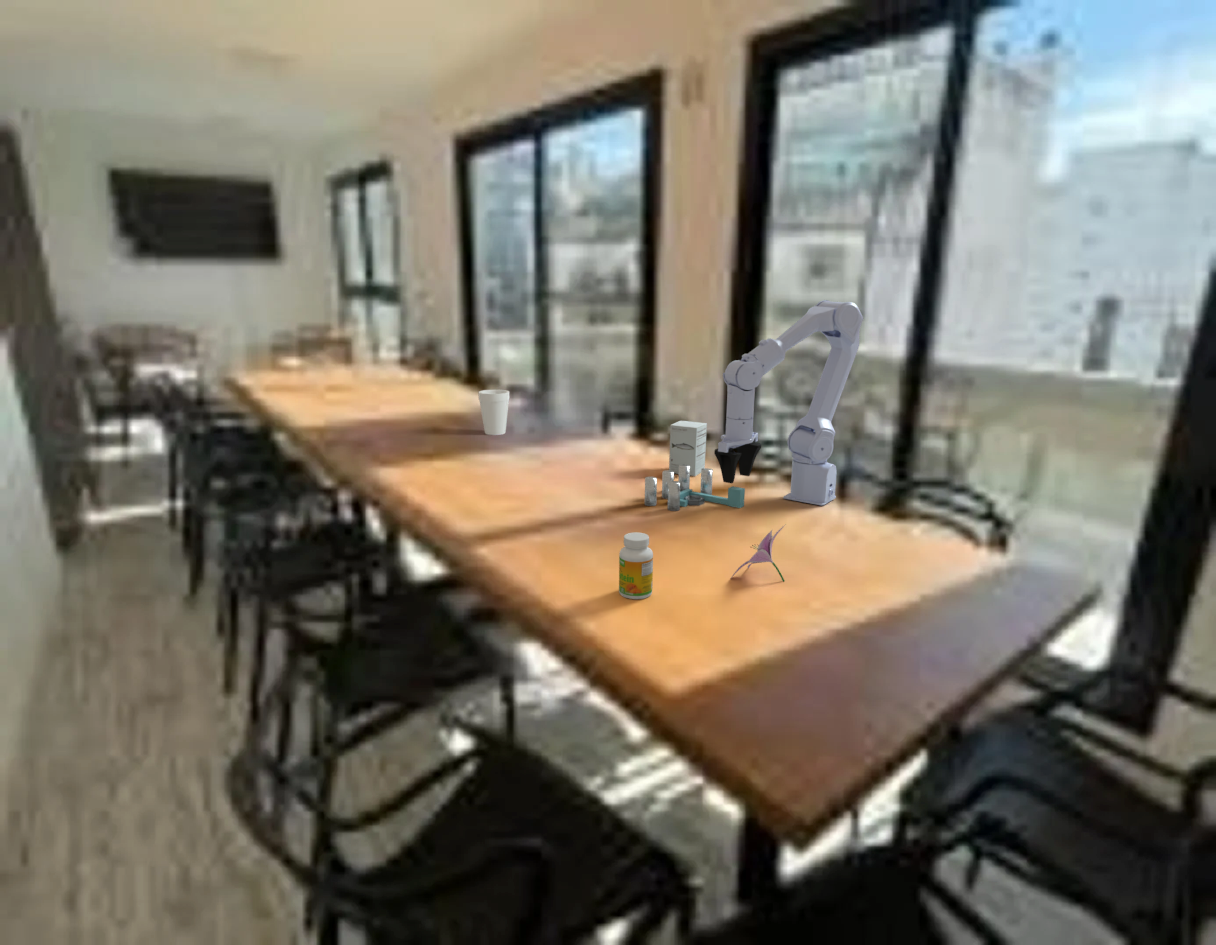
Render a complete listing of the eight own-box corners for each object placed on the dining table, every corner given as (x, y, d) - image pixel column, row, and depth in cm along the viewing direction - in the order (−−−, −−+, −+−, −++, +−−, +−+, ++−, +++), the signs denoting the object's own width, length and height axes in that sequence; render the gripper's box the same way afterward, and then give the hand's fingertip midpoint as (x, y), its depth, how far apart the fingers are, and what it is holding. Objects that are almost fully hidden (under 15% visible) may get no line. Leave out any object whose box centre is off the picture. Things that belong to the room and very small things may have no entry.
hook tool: (744, 505, 176) (744, 488, 175) (725, 515, 169) (725, 497, 168) (688, 495, 184) (689, 478, 183) (668, 503, 177) (668, 486, 176)
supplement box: (667, 473, 203) (669, 424, 200) (679, 467, 209) (680, 419, 206) (695, 477, 200) (696, 427, 197) (705, 470, 206) (707, 422, 203)
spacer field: (713, 494, 184) (714, 469, 183) (675, 511, 172) (676, 484, 170) (681, 488, 189) (682, 463, 188) (642, 504, 176) (642, 478, 175)
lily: (779, 567, 143) (755, 520, 143) (823, 563, 133) (797, 512, 132) (732, 601, 138) (707, 552, 137) (774, 599, 127) (747, 546, 127)
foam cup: (474, 434, 248) (473, 393, 244) (487, 429, 256) (486, 388, 253) (503, 436, 245) (501, 394, 242) (515, 431, 254) (514, 390, 250)
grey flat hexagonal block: (707, 503, 179) (707, 497, 178) (696, 508, 175) (696, 501, 175) (691, 500, 181) (691, 494, 181) (681, 504, 178) (681, 498, 177)
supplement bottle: (611, 593, 129) (612, 536, 127) (634, 584, 133) (635, 528, 130) (636, 603, 125) (637, 544, 123) (659, 593, 129) (660, 536, 127)
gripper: (739, 410, 179) (736, 469, 182) (706, 420, 168) (703, 482, 171) (767, 414, 175) (764, 474, 178) (736, 424, 164) (733, 488, 167)
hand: (736, 478), depth 174 cm, fingers open, 7 cm apart
